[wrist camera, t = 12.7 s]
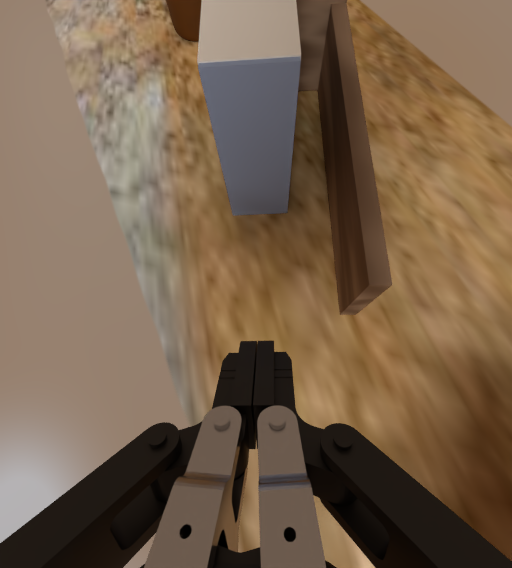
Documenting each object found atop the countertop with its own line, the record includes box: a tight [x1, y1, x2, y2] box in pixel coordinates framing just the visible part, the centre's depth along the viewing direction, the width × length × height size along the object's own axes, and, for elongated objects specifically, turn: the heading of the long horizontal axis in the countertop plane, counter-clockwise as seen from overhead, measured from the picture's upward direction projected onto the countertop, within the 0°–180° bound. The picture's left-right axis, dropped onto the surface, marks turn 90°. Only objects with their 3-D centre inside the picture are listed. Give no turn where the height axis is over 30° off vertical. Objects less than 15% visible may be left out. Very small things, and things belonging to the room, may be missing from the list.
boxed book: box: [197, 0, 301, 215], centre depth 27 cm, size 6×14×16 cm, turn 1°
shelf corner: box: [296, 0, 392, 315], centre depth 28 cm, size 12×32×12 cm, turn 0°
